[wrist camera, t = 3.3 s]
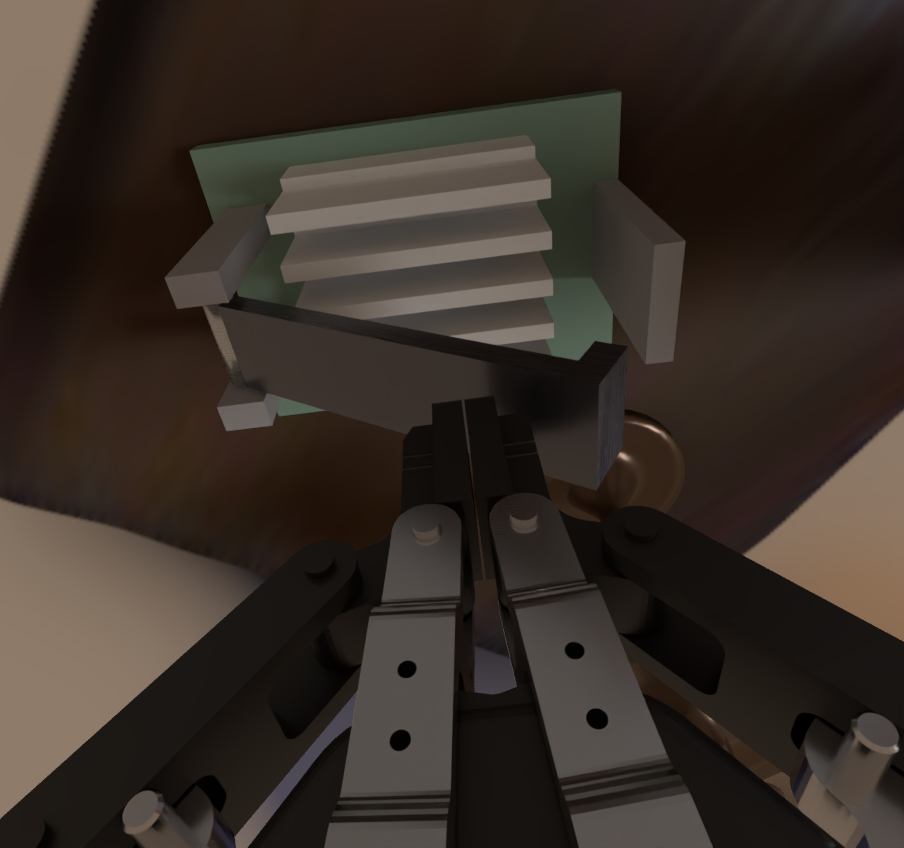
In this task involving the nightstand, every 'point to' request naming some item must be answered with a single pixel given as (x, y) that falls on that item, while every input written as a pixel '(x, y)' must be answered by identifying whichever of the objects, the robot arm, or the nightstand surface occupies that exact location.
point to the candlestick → (658, 486)
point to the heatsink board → (440, 232)
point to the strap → (428, 378)
